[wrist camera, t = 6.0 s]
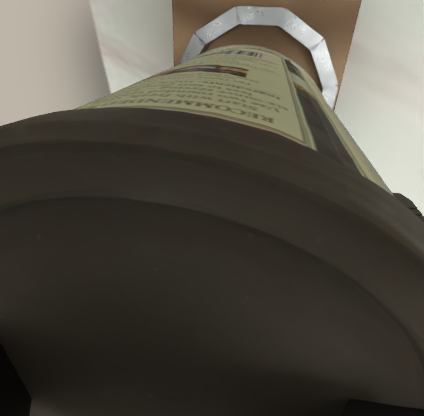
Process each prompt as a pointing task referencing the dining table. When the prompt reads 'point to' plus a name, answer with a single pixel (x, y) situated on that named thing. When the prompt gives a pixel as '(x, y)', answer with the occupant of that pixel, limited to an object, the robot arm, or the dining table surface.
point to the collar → (275, 18)
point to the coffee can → (206, 252)
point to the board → (273, 28)
